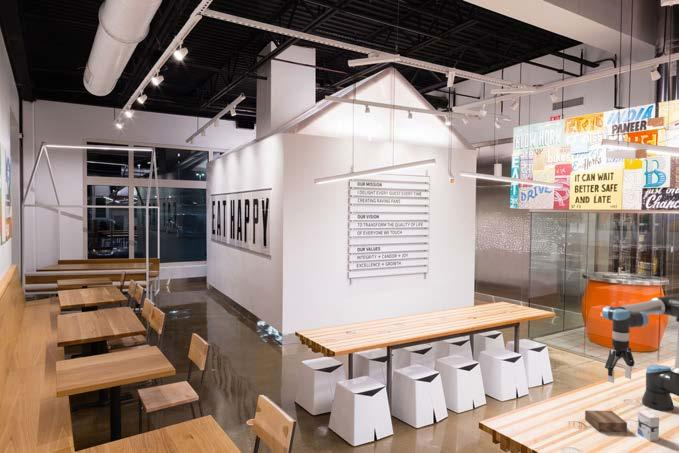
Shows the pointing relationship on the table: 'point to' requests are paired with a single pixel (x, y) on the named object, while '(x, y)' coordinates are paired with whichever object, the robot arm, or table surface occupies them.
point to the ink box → (648, 425)
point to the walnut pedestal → (605, 421)
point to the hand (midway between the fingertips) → (619, 380)
